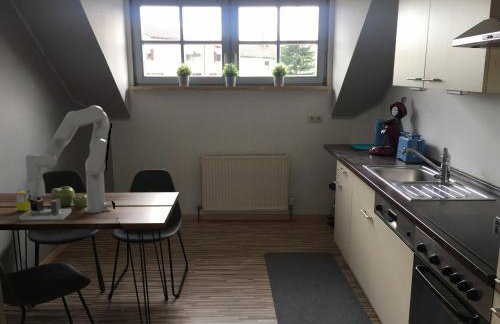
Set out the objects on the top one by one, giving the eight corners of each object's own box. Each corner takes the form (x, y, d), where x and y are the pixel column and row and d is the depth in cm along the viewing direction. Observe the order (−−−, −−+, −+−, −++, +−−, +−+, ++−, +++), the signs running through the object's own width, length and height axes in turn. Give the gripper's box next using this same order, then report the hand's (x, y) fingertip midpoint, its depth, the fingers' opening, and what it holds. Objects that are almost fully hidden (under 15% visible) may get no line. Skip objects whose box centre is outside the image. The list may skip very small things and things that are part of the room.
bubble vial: (50, 213, 235) (50, 210, 235) (49, 214, 233) (48, 211, 233) (40, 213, 235) (40, 210, 234) (38, 214, 233) (38, 211, 232)
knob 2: (62, 209, 242) (62, 198, 241) (58, 213, 236) (57, 201, 235) (53, 210, 242) (53, 198, 241) (49, 213, 235) (48, 201, 234)
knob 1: (36, 210, 241) (36, 198, 240) (45, 211, 238) (44, 199, 237) (29, 212, 237) (28, 199, 236) (37, 213, 234) (36, 201, 233)
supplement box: (33, 209, 251) (32, 191, 249) (25, 212, 245) (24, 193, 244) (25, 208, 252) (23, 190, 251) (17, 211, 247) (15, 192, 245)
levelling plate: (71, 212, 246) (71, 208, 246) (62, 219, 231) (62, 215, 231) (30, 212, 244) (30, 209, 244) (19, 220, 229) (19, 216, 229)
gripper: (39, 173, 244) (41, 205, 247) (17, 179, 228) (19, 213, 231) (51, 174, 242) (53, 206, 245) (29, 180, 226) (31, 214, 229)
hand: (36, 209), depth 238 cm, fingers closed on knob 1, 3 cm apart
